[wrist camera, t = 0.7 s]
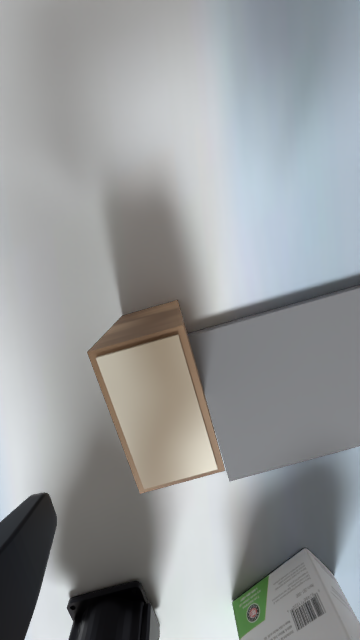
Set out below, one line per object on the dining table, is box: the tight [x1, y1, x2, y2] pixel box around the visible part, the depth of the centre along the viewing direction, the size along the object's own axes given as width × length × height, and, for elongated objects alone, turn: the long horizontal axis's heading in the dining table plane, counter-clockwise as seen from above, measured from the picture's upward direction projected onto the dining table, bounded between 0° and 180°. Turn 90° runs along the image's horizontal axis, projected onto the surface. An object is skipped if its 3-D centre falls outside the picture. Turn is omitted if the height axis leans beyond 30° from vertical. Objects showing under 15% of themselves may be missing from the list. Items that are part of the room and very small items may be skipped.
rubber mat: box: [188, 285, 360, 481], centre depth 19 cm, size 14×12×1 cm
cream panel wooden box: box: [87, 300, 225, 494], centre depth 15 cm, size 4×7×8 cm, turn 16°
